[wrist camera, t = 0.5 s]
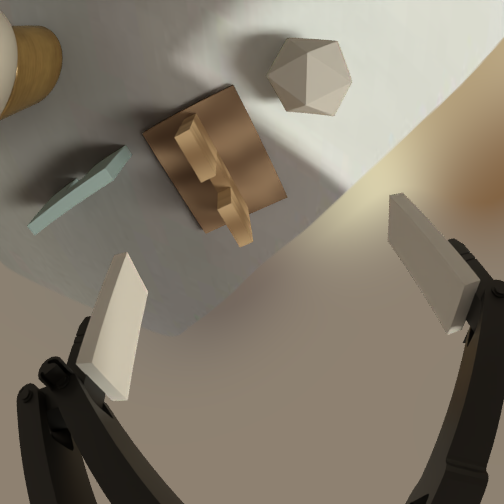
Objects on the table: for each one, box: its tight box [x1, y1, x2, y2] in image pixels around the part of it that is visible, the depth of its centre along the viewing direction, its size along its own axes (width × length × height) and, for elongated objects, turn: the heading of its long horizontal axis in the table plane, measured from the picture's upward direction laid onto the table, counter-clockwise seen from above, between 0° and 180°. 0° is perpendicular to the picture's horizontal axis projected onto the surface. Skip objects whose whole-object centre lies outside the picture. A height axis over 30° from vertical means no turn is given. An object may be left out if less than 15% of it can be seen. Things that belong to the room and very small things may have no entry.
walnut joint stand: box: [143, 85, 287, 247], centre depth 35 cm, size 16×12×9 cm
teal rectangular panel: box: [28, 145, 132, 235], centre depth 35 cm, size 2×14×8 cm, turn 115°
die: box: [266, 38, 352, 116], centre depth 30 cm, size 8×9×10 cm
